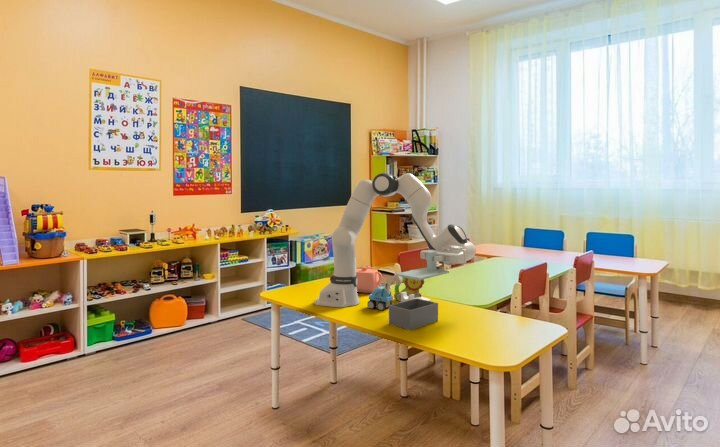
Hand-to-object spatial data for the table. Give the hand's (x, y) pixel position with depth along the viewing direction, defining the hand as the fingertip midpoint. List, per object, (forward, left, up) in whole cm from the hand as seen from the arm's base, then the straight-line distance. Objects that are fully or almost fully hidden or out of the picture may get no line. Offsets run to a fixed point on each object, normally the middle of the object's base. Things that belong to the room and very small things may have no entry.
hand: (430, 258), depth 192 cm
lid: (-3, -4, -6) cm, 8 cm away
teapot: (-38, +55, -28) cm, 73 cm away
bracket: (-7, +24, -28) cm, 38 cm away
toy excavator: (-22, +18, -28) cm, 40 cm away
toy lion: (-12, +38, -28) cm, 49 cm away
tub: (-7, -2, -28) cm, 28 cm away
